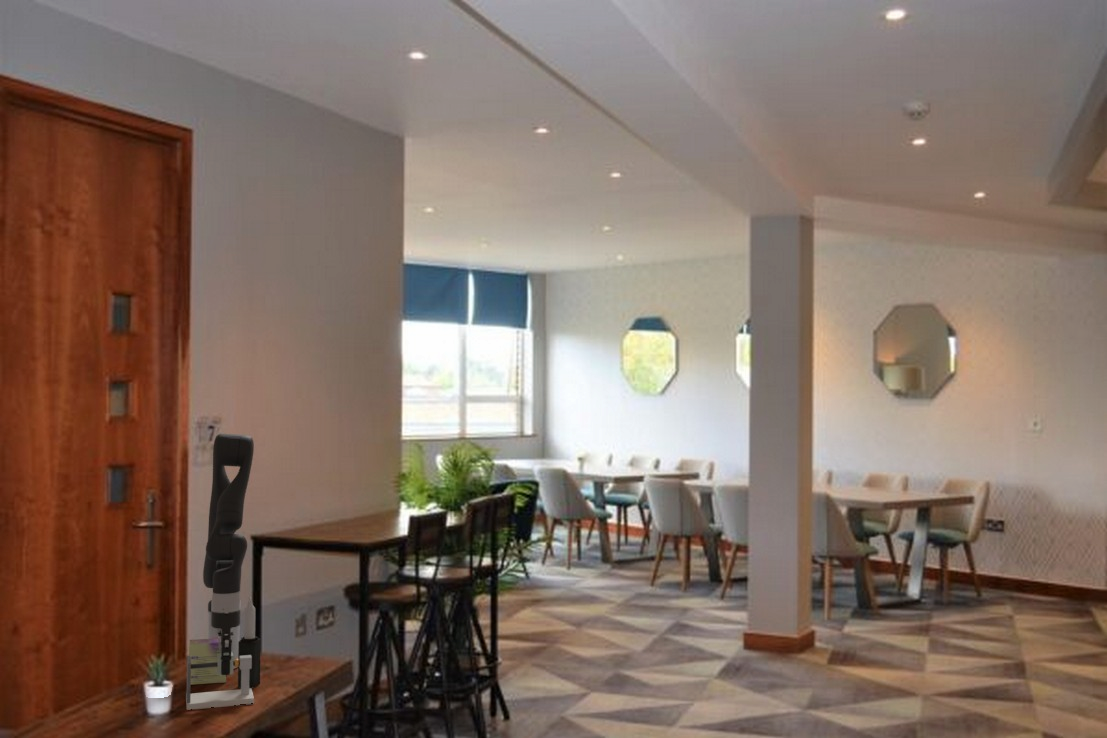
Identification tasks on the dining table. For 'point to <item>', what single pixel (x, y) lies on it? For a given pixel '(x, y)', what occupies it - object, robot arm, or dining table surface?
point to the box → (204, 661)
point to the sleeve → (220, 663)
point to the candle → (250, 646)
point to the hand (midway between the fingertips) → (225, 672)
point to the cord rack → (221, 697)
